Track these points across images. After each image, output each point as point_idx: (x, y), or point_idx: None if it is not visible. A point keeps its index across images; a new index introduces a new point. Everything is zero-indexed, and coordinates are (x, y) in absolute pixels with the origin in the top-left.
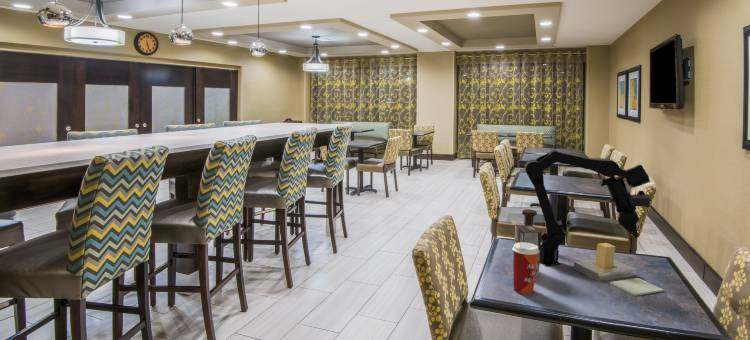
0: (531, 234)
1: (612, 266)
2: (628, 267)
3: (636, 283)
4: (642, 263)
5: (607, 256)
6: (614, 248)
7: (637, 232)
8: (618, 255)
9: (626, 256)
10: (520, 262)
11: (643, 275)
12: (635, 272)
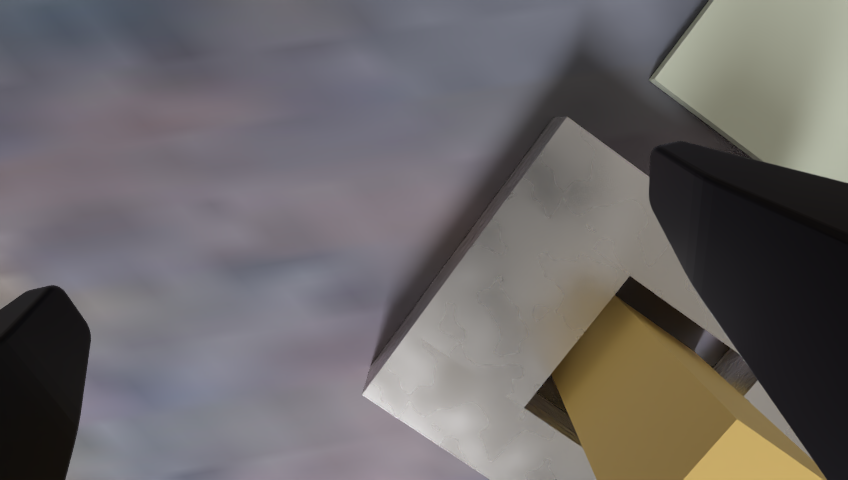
0: None
1: (641, 321)
2: (566, 187)
3: (819, 67)
4: (143, 112)
5: (759, 418)
6: (727, 408)
7: (785, 169)
8: None
9: (39, 272)
10: None
11: (495, 52)
12: (560, 117)
